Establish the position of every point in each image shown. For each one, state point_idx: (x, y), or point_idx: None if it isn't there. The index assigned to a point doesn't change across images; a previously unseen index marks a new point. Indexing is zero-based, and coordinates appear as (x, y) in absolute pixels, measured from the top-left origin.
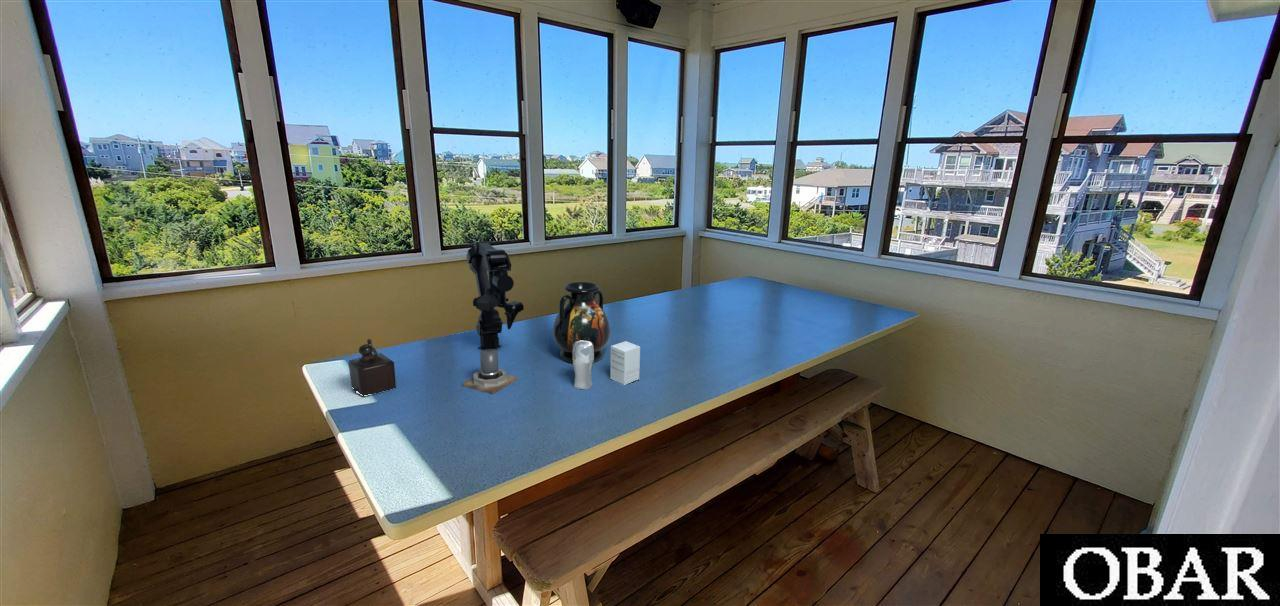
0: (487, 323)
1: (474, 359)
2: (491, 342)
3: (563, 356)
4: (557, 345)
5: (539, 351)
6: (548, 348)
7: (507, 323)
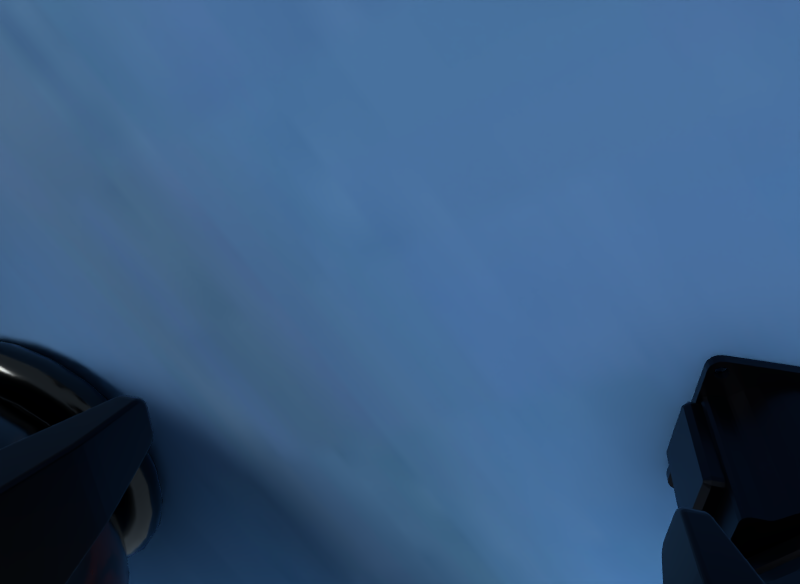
0: (714, 541)
1: (793, 104)
2: (737, 446)
3: (35, 375)
4: (12, 438)
5: (316, 459)
6: (300, 514)
7: (6, 472)
